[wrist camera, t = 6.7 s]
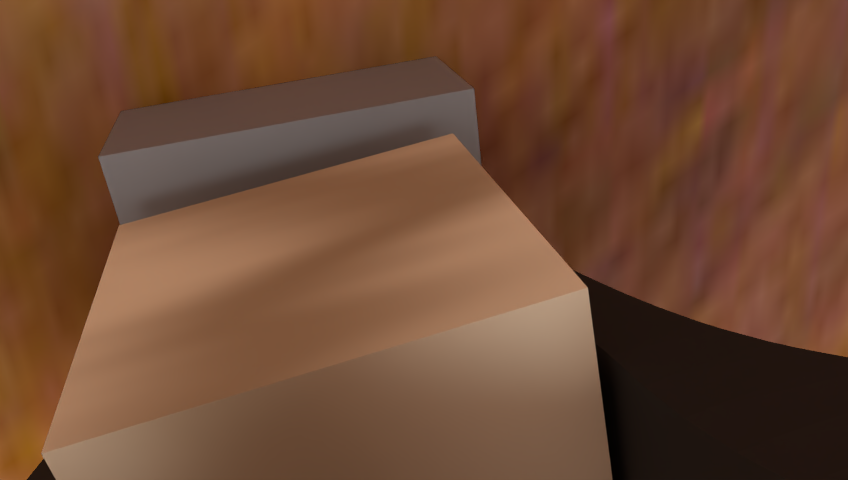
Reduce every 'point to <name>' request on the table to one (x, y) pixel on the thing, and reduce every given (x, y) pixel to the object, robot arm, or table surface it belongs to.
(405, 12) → the table surface
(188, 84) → the table surface
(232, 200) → the beech cube
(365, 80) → the gray block
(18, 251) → the table surface
